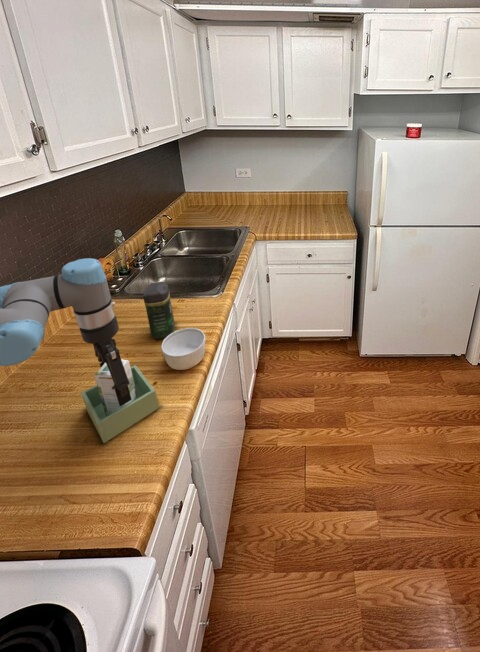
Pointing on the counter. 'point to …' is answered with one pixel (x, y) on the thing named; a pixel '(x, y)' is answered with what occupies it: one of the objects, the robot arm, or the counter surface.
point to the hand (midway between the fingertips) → (118, 390)
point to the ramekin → (184, 348)
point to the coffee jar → (159, 310)
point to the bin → (125, 415)
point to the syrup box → (106, 391)
